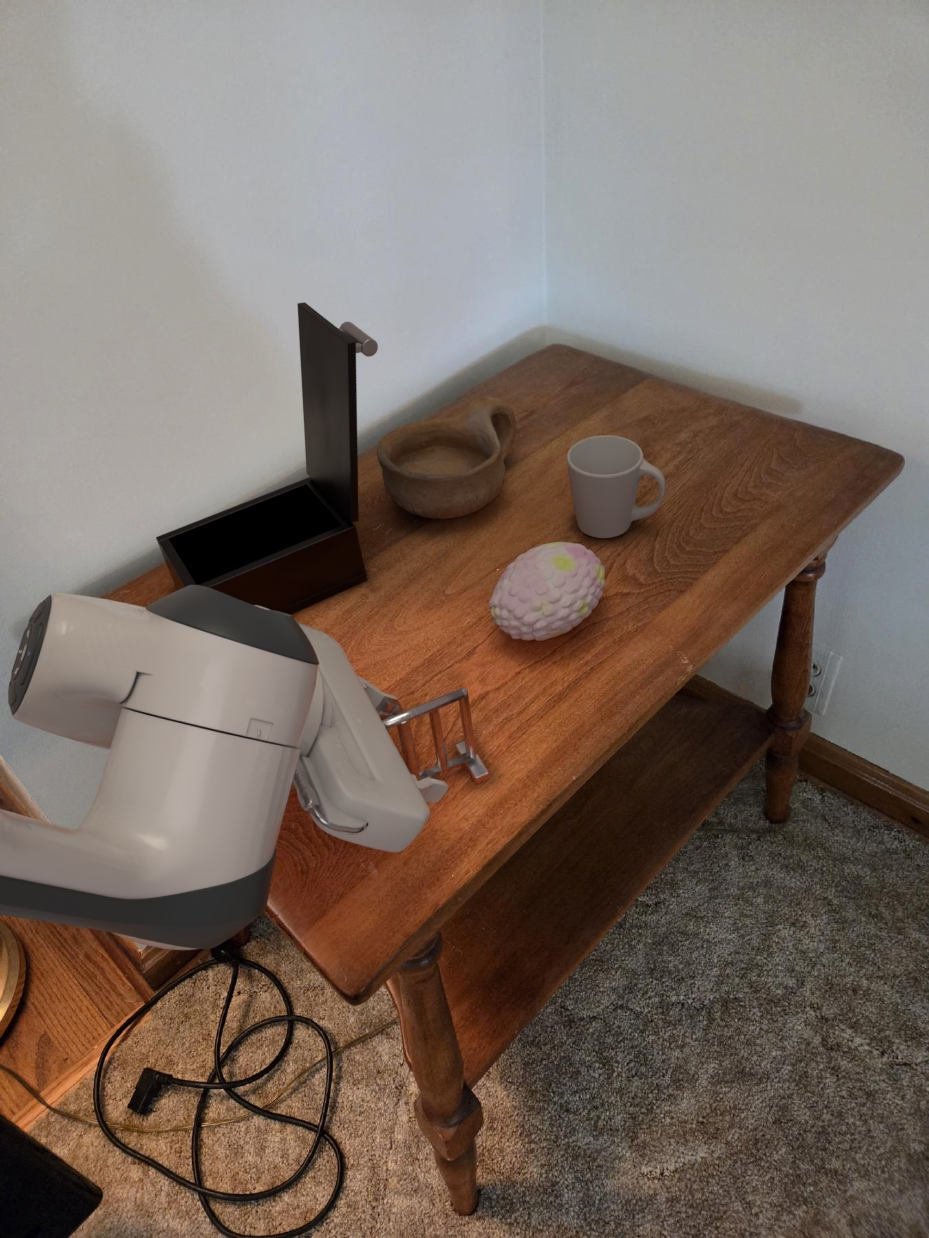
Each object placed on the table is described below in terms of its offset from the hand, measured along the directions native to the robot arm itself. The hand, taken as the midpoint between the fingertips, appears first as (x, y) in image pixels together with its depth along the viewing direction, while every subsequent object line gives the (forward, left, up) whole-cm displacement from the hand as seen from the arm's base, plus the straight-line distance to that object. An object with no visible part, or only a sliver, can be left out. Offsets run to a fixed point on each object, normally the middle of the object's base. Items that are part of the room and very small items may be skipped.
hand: (417, 747), depth 70 cm
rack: (-1, 0, -5) cm, 5 cm away
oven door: (+9, +32, +11) cm, 35 cm away
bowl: (+23, +34, -5) cm, 42 cm away
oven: (-1, +32, -5) cm, 32 cm away
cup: (+33, +18, -5) cm, 38 cm away
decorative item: (+19, +10, -5) cm, 22 cm away
